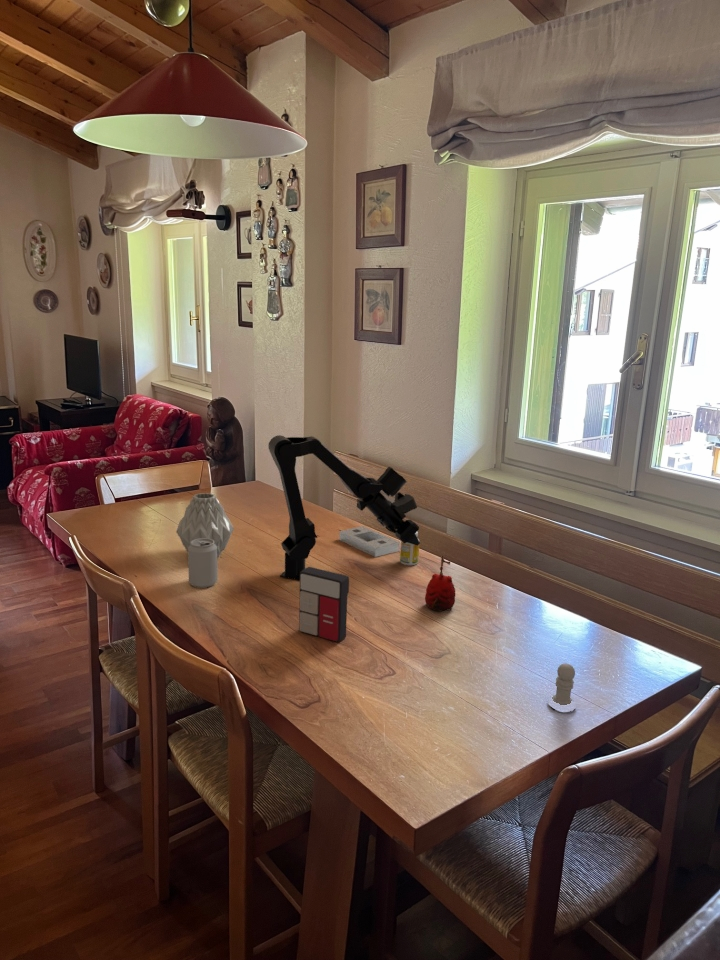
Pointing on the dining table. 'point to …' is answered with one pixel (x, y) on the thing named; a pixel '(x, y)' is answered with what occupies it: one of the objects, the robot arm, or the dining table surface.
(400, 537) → the robot arm
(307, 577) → the grey and red box
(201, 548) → the can
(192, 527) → the vase
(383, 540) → the light grey flat slab
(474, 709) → the dining table surface
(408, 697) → the dining table surface
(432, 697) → the dining table surface
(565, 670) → the chess piece
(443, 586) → the red lumpy oval
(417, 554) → the supplement bottle
